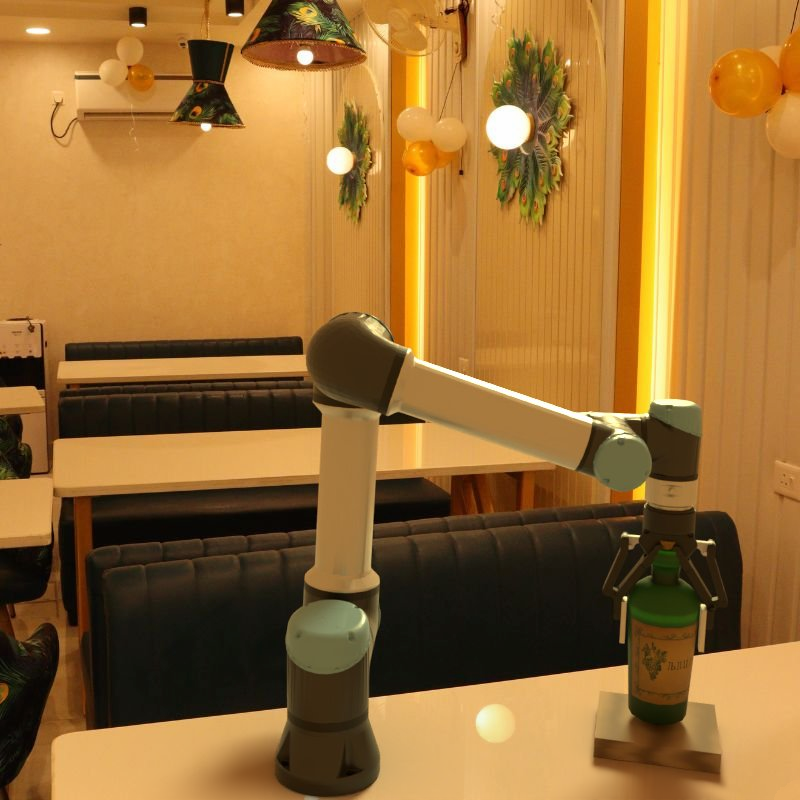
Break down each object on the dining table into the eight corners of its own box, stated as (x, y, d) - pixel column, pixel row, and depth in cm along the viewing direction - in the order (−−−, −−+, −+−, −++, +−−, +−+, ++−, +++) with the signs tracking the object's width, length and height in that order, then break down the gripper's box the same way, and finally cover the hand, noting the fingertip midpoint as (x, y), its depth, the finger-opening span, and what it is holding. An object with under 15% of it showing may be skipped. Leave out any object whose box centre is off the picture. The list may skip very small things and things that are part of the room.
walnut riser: (593, 756, 149) (594, 737, 149) (598, 707, 164) (599, 690, 164) (719, 773, 145) (721, 754, 144) (713, 722, 160) (714, 704, 160)
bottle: (642, 734, 148) (653, 552, 143) (609, 702, 158) (618, 530, 153) (706, 726, 150) (719, 547, 146) (669, 695, 160) (680, 526, 156)
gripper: (588, 504, 148) (581, 645, 151) (755, 517, 142) (744, 663, 146) (591, 491, 155) (584, 626, 158) (750, 503, 149) (739, 643, 153)
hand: (661, 644), depth 152 cm, fingers open, 11 cm apart
